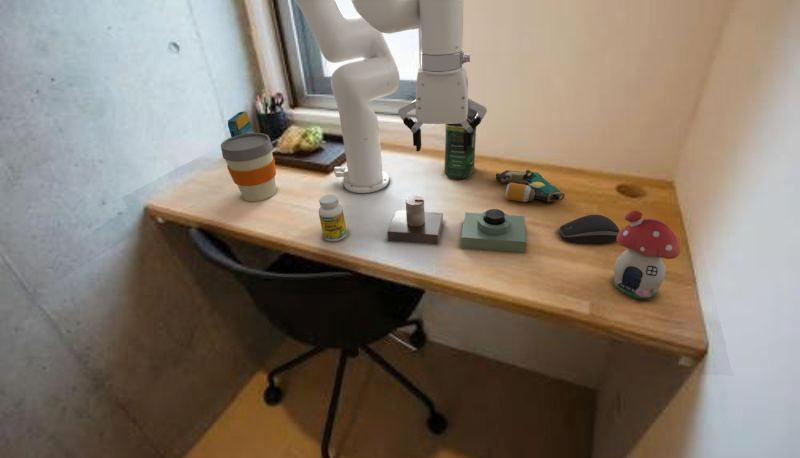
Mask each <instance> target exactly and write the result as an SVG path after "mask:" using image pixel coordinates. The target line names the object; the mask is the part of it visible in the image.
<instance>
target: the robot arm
mask: <svg viewBox="0 0 800 458" xmlns="http://www.w3.org/2000/svg"><path fill="white" fill-rule="evenodd" d="M293 1H294V3H295V4H296V6H297V7H298V8H299V10H300V11H301V13H302V16H303V17H304V18H305V21H306V23H307V25H308V27H309V30H310V32H311V35H312V37H313V39H314V40H315V42H316V44H317V46H318V49H319V51H320V52H321V54H322V55H323V57H324V59H325V60H326V62H329V63H332V64H340V63H345V62H348V63H345V64H343V65H340V66H338V67H337V68H336V69H335V70H333V72H332V74H331V78H330V86H331V91H332V94H333V97H334V100H335V102H336V106H337V111H338V115H339V121H340V128H341V134H342V142H343V147H344V155H345V162H346V166H344V167H343V166H334V168H333V173H334V174H335V177H336V178H344V179H343V181H342V182H343V187H344V188H345V189H346V190H347V191H349V192H352V193H357V194H368V193H369V194H370V193H375V192H377V191H380V190H382V189H384V188H385V187H387V186H388V185H389V183H390V176H389V175H388V174H387V173H386V172H385V171H383V160H382V159H383V158H382V149H381V137H380V127H379V119H378V116H377V114H376V113H375V111H374V110H373V108H371V107H370V105H369V103H370V102H373V101H374V100H377V99H381V98H384V97H388V96H390V95H393V94H394V93H396V92H397V90H398V89H399V86H400V82H401V81H400V80H401V79H400V77H401V76H400V73H399V72H400V71H399V69H398V66H397V64H396V61H395V58H394V57H393V54H392V52H391V50H390V48H389V46H388V43H387V41H386V38H385V37H384V35H383V34H389V35H391V34H395V33H401V32H406V31H409V30H418V29H419V31H420V34H419V35H420V64H421V66H420V68H418V69H417V75H416V85H415V99H414V100H412V101H410V102H409V103H407V104H405V105H403V106H402V107H399V108H398V110H397V113H398V114H397V115H399V117H400V119H401V121H402V122H403V124H404V125H405V127H407V128H408V129H409V130H410V132H411V133H412V146H414V147H415V150H416V151H415V152H420V151H421V149H422V128H421V127H422V126H423V125H445V124H458V123H460V124H461V125H462V126H463V127H464V128H465V129H464V151H467V146H471V132H472V131H473V129H474V128H475V127H476V128H477V127H478V126H479V125H480V124H481V122H482V120H483V119H484V117H485V115H486V113H488V111H487V110H488V109H487V107H486V106H485V105H483V104H480V103H478V102H476V101H474V100H472V99H470V98H469V82H468V73H467V72H468V71H467V68H466V66H463V65H464V64H466V63H470V62H471V54H470V53H468V54H467V53H465V52H463V34H464V33H463V31H464V29H463V28H464V0H351V3H352V5H353V8H354V9H355V10H356V12H357V13H358V15H355V16H354V15H353V16H345V15H344V13H343V12H342V10H341V8H340V6H339V3H338V2H337V0H293ZM360 59H361V60H360ZM355 60H357V61H355ZM349 61H352V62H349ZM468 107H469V108H471V109H473V110H475V111H476V112H477V115H476V117H475V118H473V119H472V120H471V121H470V120H469V119H468V118H467V114H468ZM413 110H415V120H413V119H412V118H411V117H410V116H409V114H408V113H409V112H411V111H413Z"/></svg>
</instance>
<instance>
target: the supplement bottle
mask: <svg viewBox="0 0 800 458" xmlns="http://www.w3.org/2000/svg"><path fill="white" fill-rule="evenodd" d="M339 202H340V201H339V196H338V195H336V194H332V193H330V194H325V195H323V196H320V198H319V206H320V207H319V208H318V217H319V221H320V227H321V231H322V235H323V239H324V240H326V241H328V242H338V241H341V240H343V239H344V238H345V237H346V236H347V233H348V231H347V224H346V218H345V212H344V207H343V205H342V204H340V203H339Z"/></svg>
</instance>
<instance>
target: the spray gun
mask: <svg viewBox="0 0 800 458" xmlns="http://www.w3.org/2000/svg"><path fill="white" fill-rule="evenodd" d="M495 180H496V181H497V182H498V183H502V184H505V183H507V185H506V189H505V194H504V195H505V196H504V197H505V198H506V199H507V200H508V201H513V202H514V201H516V202H520V203H527V202H528V201H529V202H530V201H533V200H534V199H536V200H541V201H545V202H547V203H550V202H557V201H563V200H564V198H565V193H564V192H562V191H561V190H559V189H558V188H557V187H556V185H552V184H551V183H550V182H548V181H547V180H546V179H545V178H544V177H543V176H542V174H541V173H539V172H537V171H532V170H530V169H529V168H527V169H526V170H525V171H519V170H509V169H508V170H504V171H502V172H501V173H499V172H496V173H495Z"/></svg>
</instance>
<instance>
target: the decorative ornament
mask: <svg viewBox="0 0 800 458" xmlns="http://www.w3.org/2000/svg"><path fill="white" fill-rule="evenodd" d="M624 220H625V221H626V222H629V223H628V224H627V225H625V226H623V228H622V229H620V232H619V233H618V235H617V241H616V242H617V244H618V245H619V246H621V247H623V248H626V250H624V251H623V252H622V253H621V254H620V255H619V256H618V257H617V259H616V260H615V263H614V267H613V273H614V281H613V282H614V283H613V286H614V287H615V288H616V289H617V290H618V291H619V292H621V294H623V295H625V296H627V297H629V298H632V299H634V300H638V301H650V300H653V299H655V298H657V295H658V291H659V288H660V287H661V286H662V284H663V283H664V281H665V279H666V276H667V275H666V273H667V271H666V266H665V263H664V261H663V259H666V260H673V259H677V258H678V257H679V255H680V253H681V245H680V242H679V240H678V236H677V235H676V233H675V231H674V230H673V229H672V228H671V227H670V226H668V225H667V224H666V223H664V222H663V221H661V220H658V219H655V218H643V213H642V212H641V211H639V210H630V211H628V212H627V213H626V214H625V215H624Z"/></svg>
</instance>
